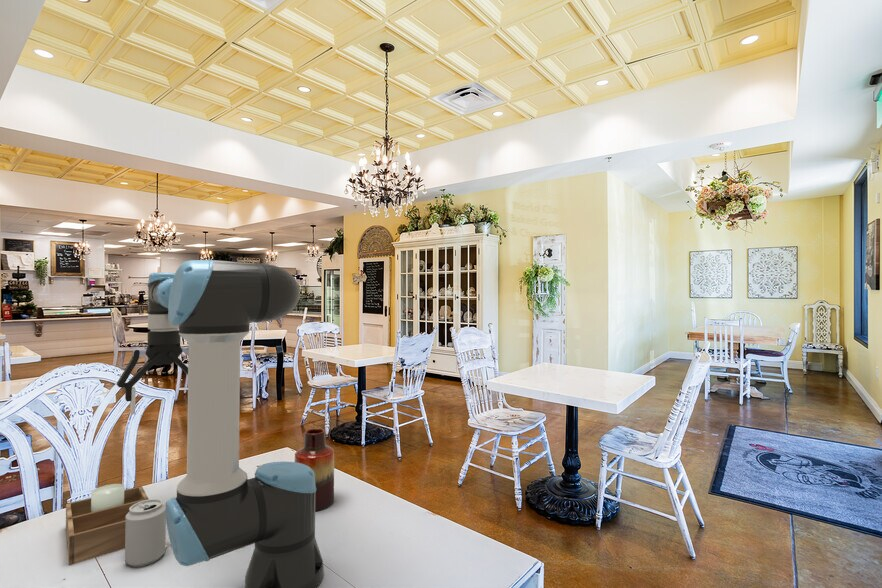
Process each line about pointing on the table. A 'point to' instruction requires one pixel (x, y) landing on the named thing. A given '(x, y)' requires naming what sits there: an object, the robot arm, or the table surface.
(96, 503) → the pale curved piece
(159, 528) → the can
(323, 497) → the vase
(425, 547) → the table surface
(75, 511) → the rack
